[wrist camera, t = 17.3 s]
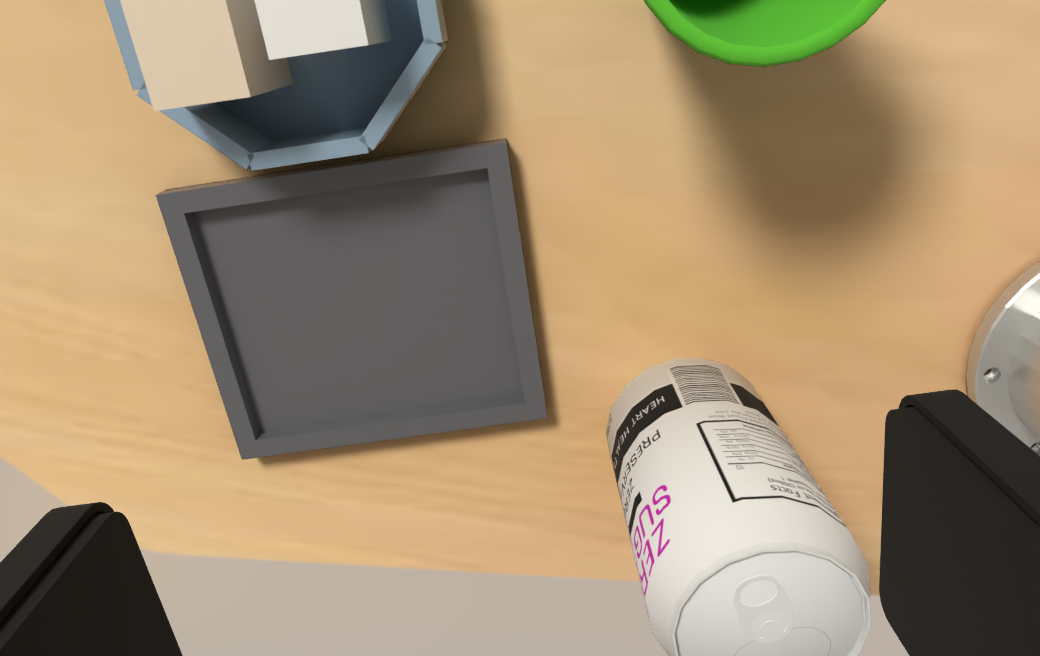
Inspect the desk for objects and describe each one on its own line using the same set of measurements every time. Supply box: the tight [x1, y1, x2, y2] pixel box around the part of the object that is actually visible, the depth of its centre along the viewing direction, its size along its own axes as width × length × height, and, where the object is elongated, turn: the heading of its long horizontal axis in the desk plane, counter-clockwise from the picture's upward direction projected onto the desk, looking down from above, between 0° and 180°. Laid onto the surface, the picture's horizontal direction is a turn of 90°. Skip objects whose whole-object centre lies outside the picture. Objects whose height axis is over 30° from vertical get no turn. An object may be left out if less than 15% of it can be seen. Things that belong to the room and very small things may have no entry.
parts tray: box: [156, 138, 547, 460], centre depth 38 cm, size 16×14×1 cm
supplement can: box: [606, 358, 871, 656], centre depth 34 cm, size 8×8×15 cm
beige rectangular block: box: [120, 0, 293, 111], centre depth 30 cm, size 4×4×6 cm
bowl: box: [104, 0, 448, 171], centre depth 31 cm, size 12×12×4 cm
